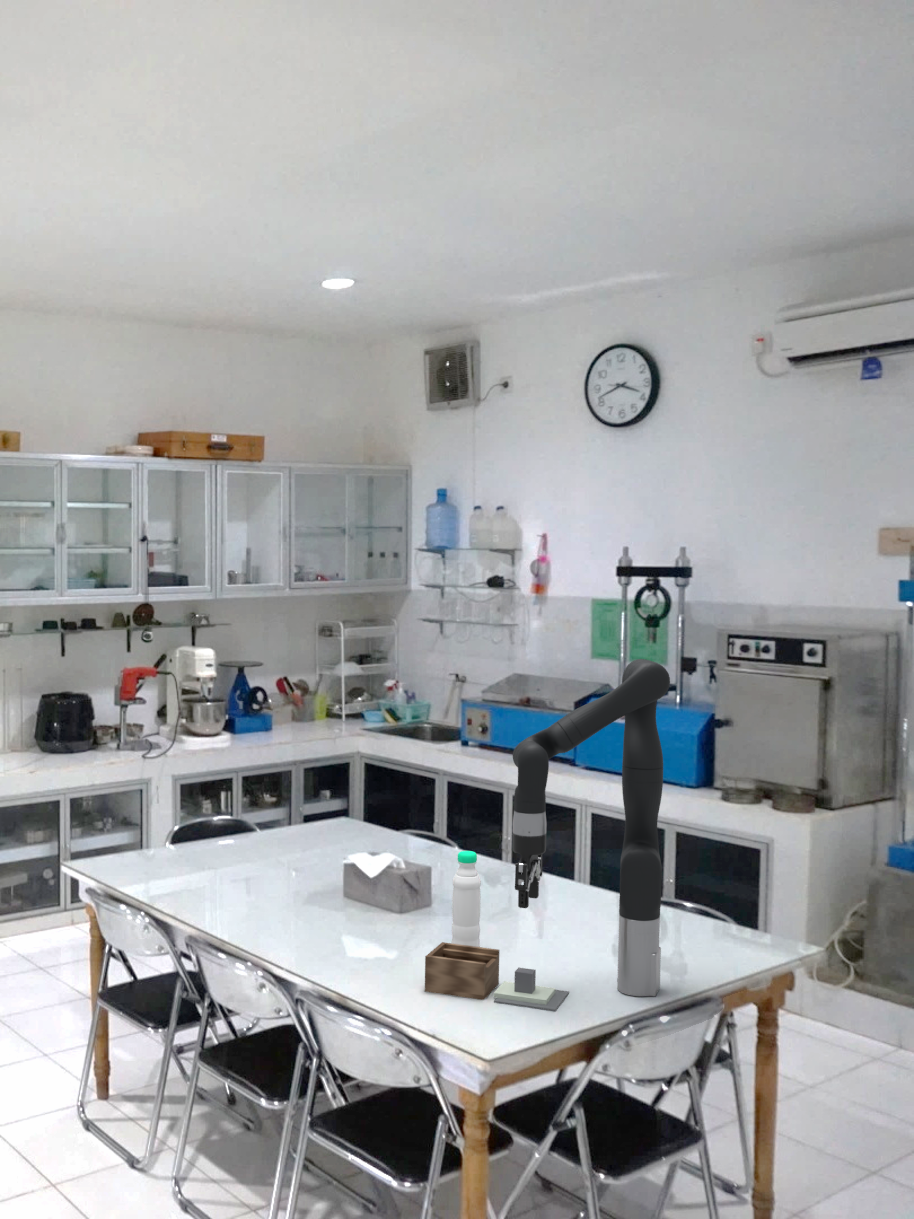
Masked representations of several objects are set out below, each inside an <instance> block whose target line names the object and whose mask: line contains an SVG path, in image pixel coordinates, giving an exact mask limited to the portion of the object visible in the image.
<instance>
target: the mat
mask: <svg viewBox="0 0 914 1219" xmlns="http://www.w3.org/2000/svg"><path fill="white" fill-rule="evenodd" d="M569 994H570V990H562V989H556V988H555V994H554V995H553V996H552V998H551V999H550V1000H549V1002H548V1003H547V1004H546V1005H544V1004H537V1003H530V1002H523V1001H516V1000H509V999H502V998H494V1000H493V1003H494V1004H503V1005H509V1006H516V1007H523V1008H530V1009H535V1010H544V1011H551V1012H556V1011H557V1010H558V1009H559V1007H560V1006H561V1005H562V1003H564V1001H565V999H566V998H567V997H568V996H569Z"/></svg>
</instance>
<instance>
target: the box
mask: <svg viewBox="0 0 914 1219" xmlns="http://www.w3.org/2000/svg"><path fill="white" fill-rule="evenodd" d="M424 957H425V958H424V960H425V962H424V965H425V966H424V992H426V993H433V994H440V995H446V996H451V997H453V996H454V997H458V998H459V997H460V998H467V999H473V1000H482V1001H484V1000H485V999H486V998H488V996H489V995H490V994H491V993H492V992H493V991H494V989H495V990H496V988H497V986H498V985H499V984H500V983H499V982H500V949H497V948H491V947H490V948H489V947H488V948H487V947H481V946H480V947H475V946H468V945H460V944H452V942H451V943H450V942H445V941H444V942H443V941H442V942H441V943H440V944H438V945H437V946H436V947H435V948H433V949H432V950H431V951H430V952H428V954H426V955H425V956H424ZM495 987H496V988H495Z"/></svg>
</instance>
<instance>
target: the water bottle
mask: <svg viewBox="0 0 914 1219" xmlns="http://www.w3.org/2000/svg"><path fill="white" fill-rule="evenodd" d="M457 861H458V862H457V863H458V864H459V866H458V868H457V870H456V872H455V874H454V876H453V877H452V878H453V879H452V898H451V899H452V900H451V902H452V903H451V906H452V907H451V914H452V916H451V917H452V918H451V919H452V925H451V935H452V936H451V943H452V944H460V945H468V946H475V947H481V942H480V941H481V940H480V935H481V934H480V933H481V925H480V921H481V908H482V907H481V906H482V902H481V898H482V896H481V886H482V880H481V877H480V875H479V873H478V869H477V868H476V864H477V861H478V855H477V853H476V852H475V851H472V850H462V851H459V852H458V853H457Z"/></svg>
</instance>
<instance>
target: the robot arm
mask: <svg viewBox="0 0 914 1219" xmlns="http://www.w3.org/2000/svg"><path fill="white" fill-rule="evenodd" d="M621 680H622V681H621V684H619V685H618V686H617V687H616V688H614V689H613V690H611V691H609V692H608V693H606V694H605V695H603V696H601V697H599V698H596V699H595V700H593V701H591V702H588V703H586V704H584V705H582V706H579V707H578V708H576V709H574V710H572V711H571V712H570V713H567V714H566V715H564V716H563V717H561V718H560V719H558V720H557V721H556V722H553V724H551V725H550V726H548V727H547V728H544V729H542V730H540V731H538V732H536V733H534V734H532V735H529V736H528V737H526V738H525V739H523V740H522V741H521V742H519V743H518V744H517V745H516V746H515V747H514V749H513V751H512V761H513V763H514V765H515V766H516V767H517V785H516V787H515V790H514V796H513V797H514V798H513V801H514V802H513V804H514V805H513V806H514V807H513V816H512V852H514V853H515V854H518V855H520V859H519V861H518V862H516V863H515V866H514V867H515V871H514V872H515V874H514V890H515V891H517V892H518V895H517V896H518V897H517V898H518V901H517V906H518V908H519V909H528V908H529V904H530V903H529V902H530V899H538V898H539V895H540V894H539V891H540V885H539V884H540V881H541V878H542V877H543V854H544V853H546V851H547V815H546V813H547V812H546V805H547V802H546V800H547V799H546V789H547V783H548V777H549V770H550V769H549V768H550V766H549V765H550V762H549V760H551V759H552V758H553V757H555V756H557V755H559V754H565V753H568V752H570V751H572V750H573V749H574V748H577V746H579V745H581V744H582V743H583V742H585V741H586V740H588V739H590V738H591V737H592V736H594V735H595V734H596V733H598V732H600V731H601V730H602V729H603V730H604V728H606V727H608V726H609V725H612V723H614V722H616V721H617V720H619V719H621V718H622V717H624V730H623V746H622V747H623V748H622V766H621V767H622V768H621V770H622V771H621V787H622V788H621V790H622V800H623V809H624V820H625V822H624V823H625V824H624V833H623V834H624V835H623V843H622V851H621V854H620V866H619V867H620V868H619V869H620V870H619V899H618V900H619V901H618V906H619V908H618V946H617V947H618V948H617V977H616V982H617V983H616V986H617V990H618V991H619V992H621V993H622V994H625V995H627V996H632V997H656V995H657V994H658V992H659V991H660V989H661V962H662V961H661V959H662V958H661V957H662V956H661V955H662V948H661V946H660V931H661V930H660V929H661V928H660V927H661V926H660V925H661V920H660V919H661V907H662V906H661V905H662V881H663V878H662V877H663V876H662V875H663V870H662V869H663V868H662V860H661V859H662V858H661V856H660V849H659V848H660V847H659V835H658V834H659V833H658V818H659V812H660V807H661V802H662V796H663V786H664V757H663V749H662V745H661V744H662V743H661V740H660V735H659V730H658V726H657V705H658V704H657V701H658V700H660V699H662V698H663V697H664V696H665V695H666V694H667V692H668V691H669V688H670V685H671V678H670V673H669V672H668V670H667V669H666V668H665V666H663V665H661V664H660V663H658V662H655V661H652V660H650V659H647V658H646V659H644V658H638V659H635V660H634V659H633V660H632V661H631V662H629V663H628V664H627V665H626V667H625V669H624V670H623V673H622V679H621ZM522 883H523V884H522Z"/></svg>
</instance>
